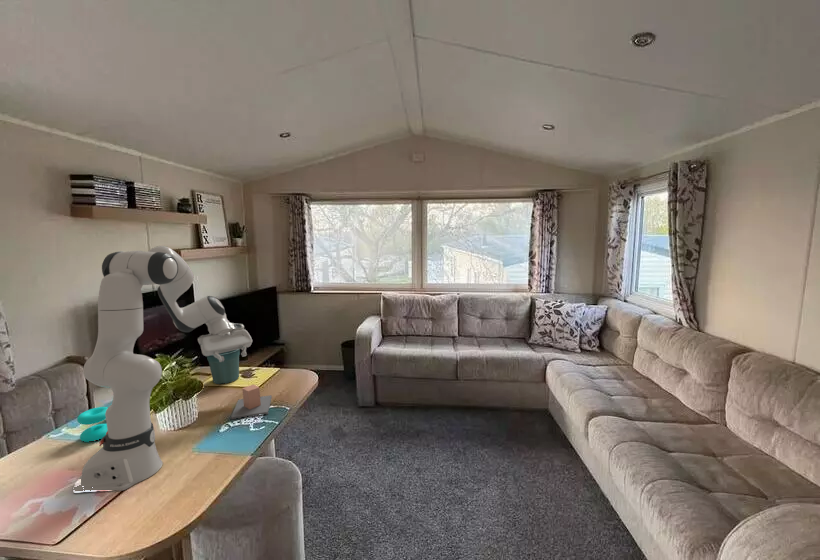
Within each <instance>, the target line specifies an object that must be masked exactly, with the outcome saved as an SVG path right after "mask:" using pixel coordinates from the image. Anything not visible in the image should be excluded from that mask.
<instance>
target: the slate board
mask: <svg viewBox="0 0 820 560" xmlns="http://www.w3.org/2000/svg"><path fill="white" fill-rule="evenodd" d="M272 398H273V397H272V395H262V396H260V402H261V405H260V406H257V407H254V408H252V409H248V408H246V407H245V406H244V402H243V398H240V399H238V400H237V402H236V404H235V407H234V409H233V411H232V413H231V416H230V419H231V420H237V419H236V418H238V419H242V418H241V417H245V418H248V417H247V416H252V417H254V416H253V415H259V414H266V415H269V412H268V411H270V406H271V402H272ZM259 416H260V415H259Z"/></svg>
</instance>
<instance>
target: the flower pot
mask: <svg viewBox="0 0 820 560" xmlns="http://www.w3.org/2000/svg"><path fill="white" fill-rule="evenodd" d="M219 355H220V356H223V357H224V359H225V360H224V361H223V362H219V359H217V358H216V357H214V355H210V356H206V358H207V361H208V366H209V369H210V373H211V377H212V381H213V384H216V385H221V384H224V383H225V384H228V383H229V382H230V383H233V382H235V381H237V380H238V379H239V378H240V365H239V364H240V355H241V349H237V350H232V351H228V352H223V353H219ZM238 377H239V378H238ZM232 381H233V382H232ZM230 383H229V384H230Z"/></svg>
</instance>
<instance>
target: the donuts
mask: <svg viewBox="0 0 820 560" xmlns="http://www.w3.org/2000/svg"><path fill="white" fill-rule="evenodd" d="M108 407H109V406H108ZM108 407H107V406H99V407H93V408H90V409H87V410H85V411H84V412H81V413H80V414H78V416H77V419H76V420H77V422H78V423H79V424H81V425H84V426H85V425H87V426H90V427H88V428H86V429H84V430H83V431H82V432H81V433H80V436H79V439H80V440H81V442H83V441H84V442H83V443H90V442H89V441H94V440H98V441H100V440H99V439H101V440H102V438H103V437H104V436H105V435H106V432H108V430H107V423H101V422H104V421H106V416H105V413H106V410H107V409H108ZM98 423H99V424H98ZM91 425H92V426H91ZM94 442H95V441H94Z"/></svg>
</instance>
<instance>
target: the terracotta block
mask: <svg viewBox="0 0 820 560" xmlns="http://www.w3.org/2000/svg"><path fill="white" fill-rule="evenodd" d="M241 391H242V399H243V402H244V406H245V407H246V408H248V409H252V408H254V407H257V406H260V405H261V402H260V397H261V394H260V386H257V385H255V384H251V385H249V386H245V387H242V389H241Z"/></svg>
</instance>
